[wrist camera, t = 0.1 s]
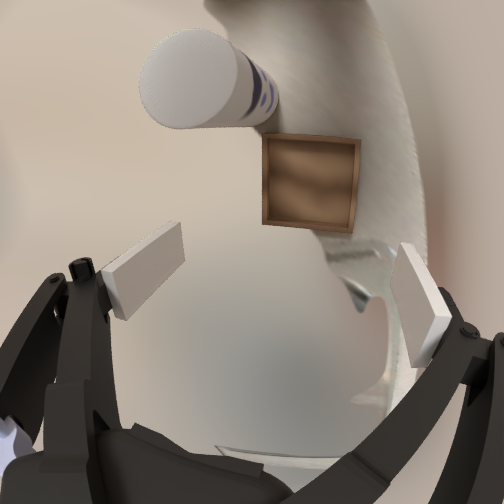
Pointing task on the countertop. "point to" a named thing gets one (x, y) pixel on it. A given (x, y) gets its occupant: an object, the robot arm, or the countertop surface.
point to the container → (205, 83)
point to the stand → (309, 181)
